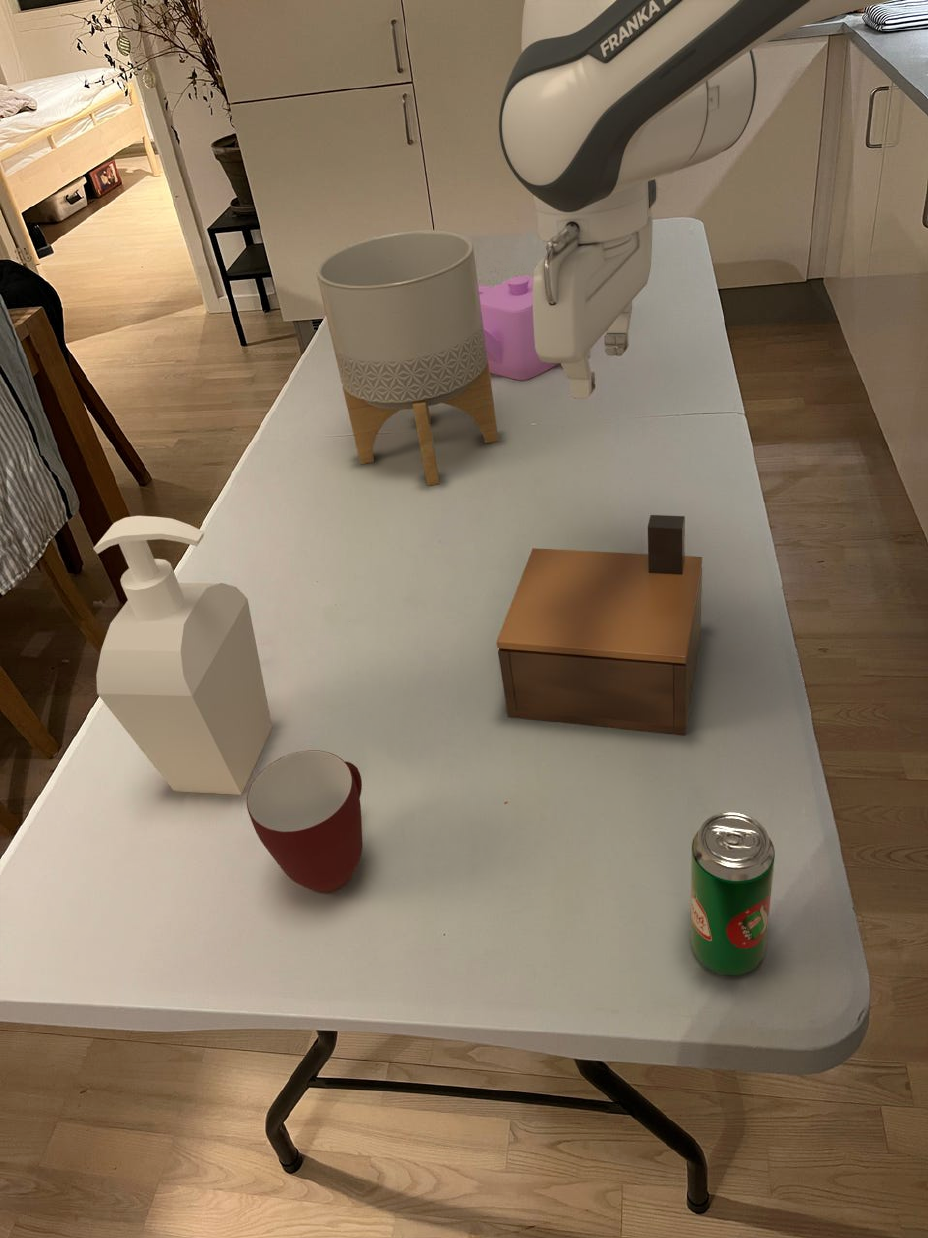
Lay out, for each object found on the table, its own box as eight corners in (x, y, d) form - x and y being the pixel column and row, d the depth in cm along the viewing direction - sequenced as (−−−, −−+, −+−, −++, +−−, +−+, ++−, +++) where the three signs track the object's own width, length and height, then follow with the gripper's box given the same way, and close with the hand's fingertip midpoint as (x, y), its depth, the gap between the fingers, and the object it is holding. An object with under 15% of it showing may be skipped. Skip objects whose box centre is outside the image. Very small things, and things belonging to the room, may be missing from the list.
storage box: (700, 632, 94) (702, 566, 89) (685, 735, 84) (686, 667, 79) (540, 620, 99) (533, 557, 94) (507, 717, 89) (497, 651, 84)
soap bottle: (261, 814, 83) (162, 573, 67) (155, 808, 86) (36, 574, 70) (304, 713, 93) (226, 481, 77) (208, 710, 95) (113, 484, 79)
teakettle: (573, 329, 155) (568, 251, 148) (587, 373, 142) (582, 290, 134) (469, 344, 156) (458, 268, 149) (473, 390, 143) (461, 308, 135)
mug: (314, 804, 84) (285, 722, 77) (401, 815, 81) (379, 731, 75) (263, 907, 76) (227, 825, 70) (358, 923, 73) (329, 840, 67)
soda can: (688, 914, 70) (690, 806, 63) (761, 917, 69) (771, 807, 62) (692, 978, 66) (693, 871, 59) (768, 982, 65) (780, 873, 58)
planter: (359, 429, 138) (318, 245, 122) (490, 407, 138) (465, 220, 122) (360, 497, 123) (313, 297, 107) (506, 472, 123) (480, 268, 107)
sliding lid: (702, 563, 89) (703, 510, 85) (686, 664, 79) (686, 608, 75) (533, 554, 94) (527, 503, 90) (497, 648, 83) (489, 595, 80)
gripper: (585, 245, 68) (597, 426, 76) (663, 173, 82) (666, 331, 90) (503, 247, 71) (523, 422, 79) (593, 177, 85) (602, 330, 93)
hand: (600, 373), depth 85 cm, fingers open, 8 cm apart
